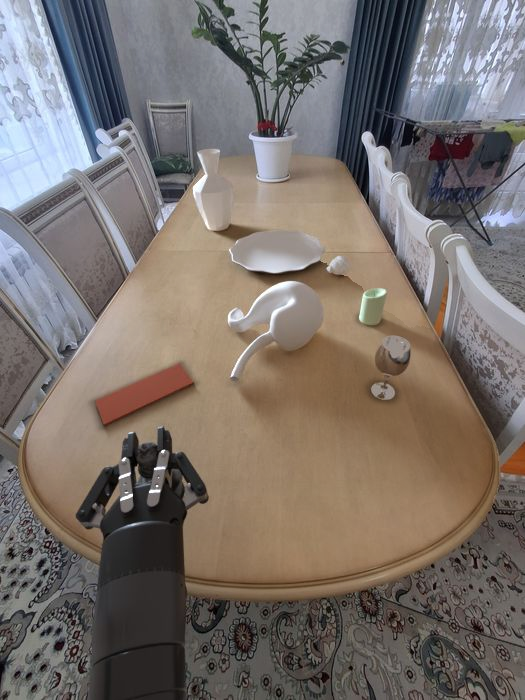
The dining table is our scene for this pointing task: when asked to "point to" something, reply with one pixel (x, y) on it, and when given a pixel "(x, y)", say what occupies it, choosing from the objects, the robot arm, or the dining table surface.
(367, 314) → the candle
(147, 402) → the rectangular block
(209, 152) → the vase
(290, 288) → the stomach
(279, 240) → the plate
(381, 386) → the wineglass
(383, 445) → the dining table surface
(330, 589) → the dining table surface
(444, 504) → the dining table surface
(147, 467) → the chess piece
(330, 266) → the garlic bulb
